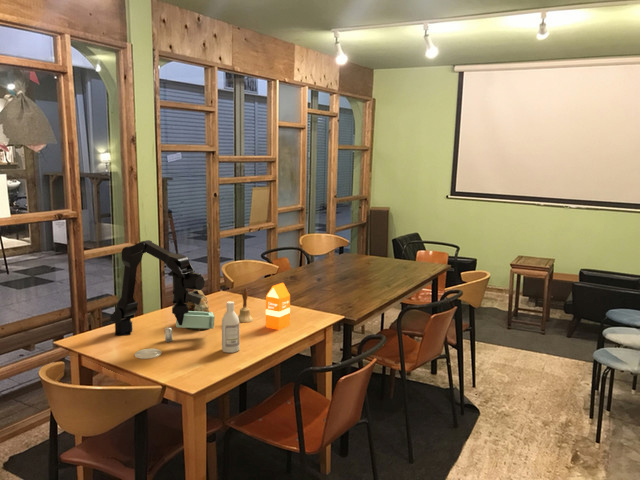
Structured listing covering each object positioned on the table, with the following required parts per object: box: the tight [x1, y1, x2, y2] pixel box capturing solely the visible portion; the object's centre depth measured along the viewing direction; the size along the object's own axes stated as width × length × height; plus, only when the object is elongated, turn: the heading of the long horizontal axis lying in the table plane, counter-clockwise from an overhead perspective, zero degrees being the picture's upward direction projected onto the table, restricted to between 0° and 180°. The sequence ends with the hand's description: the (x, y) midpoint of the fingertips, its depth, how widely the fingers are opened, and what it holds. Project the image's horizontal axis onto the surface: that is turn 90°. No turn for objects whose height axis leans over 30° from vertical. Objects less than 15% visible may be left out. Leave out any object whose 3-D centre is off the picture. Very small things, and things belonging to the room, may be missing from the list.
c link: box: [175, 311, 215, 330], centre depth 222 cm, size 15×12×5 cm
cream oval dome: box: [134, 348, 162, 360], centre depth 206 cm, size 10×10×1 cm
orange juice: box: [265, 282, 291, 331], centre depth 243 cm, size 8×9×20 cm
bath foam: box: [221, 300, 240, 354], centre depth 211 cm, size 7×7×20 cm
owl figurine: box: [185, 289, 210, 332], centre depth 242 cm, size 18×12×17 cm, turn 48°
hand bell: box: [237, 287, 254, 324], centre depth 251 cm, size 8×8×16 cm
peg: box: [164, 326, 173, 343], centre depth 221 cm, size 3×3×6 cm
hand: (180, 324), depth 215 cm, fingers closed on c link, 2 cm apart
